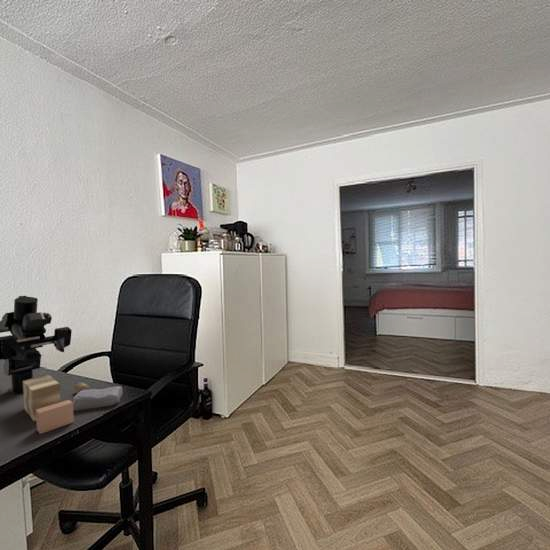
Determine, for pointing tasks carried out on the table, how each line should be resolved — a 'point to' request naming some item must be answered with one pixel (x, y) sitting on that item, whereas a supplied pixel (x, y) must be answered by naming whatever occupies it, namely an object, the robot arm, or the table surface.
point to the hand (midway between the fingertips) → (45, 354)
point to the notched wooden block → (40, 394)
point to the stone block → (97, 398)
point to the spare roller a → (81, 387)
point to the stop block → (54, 416)
